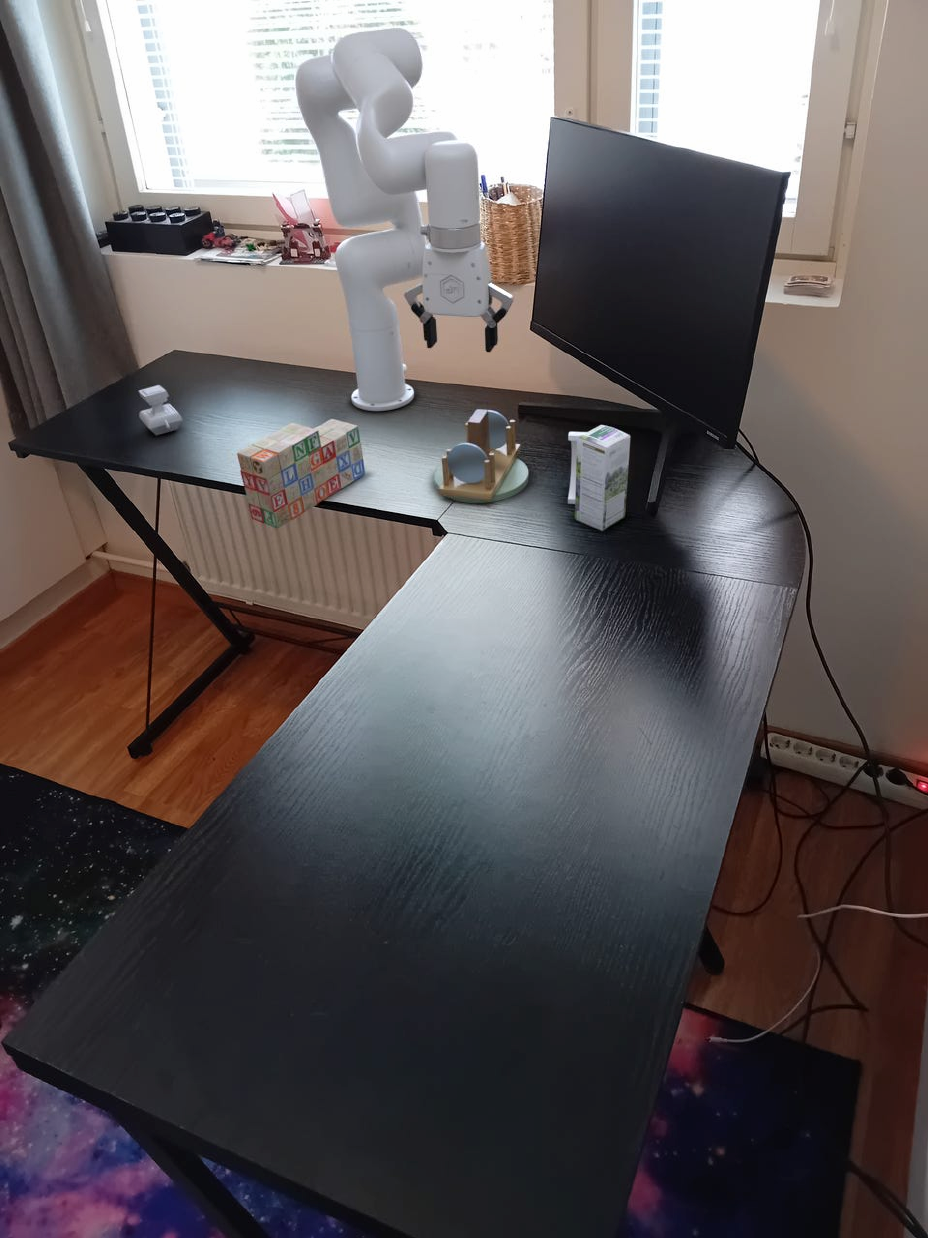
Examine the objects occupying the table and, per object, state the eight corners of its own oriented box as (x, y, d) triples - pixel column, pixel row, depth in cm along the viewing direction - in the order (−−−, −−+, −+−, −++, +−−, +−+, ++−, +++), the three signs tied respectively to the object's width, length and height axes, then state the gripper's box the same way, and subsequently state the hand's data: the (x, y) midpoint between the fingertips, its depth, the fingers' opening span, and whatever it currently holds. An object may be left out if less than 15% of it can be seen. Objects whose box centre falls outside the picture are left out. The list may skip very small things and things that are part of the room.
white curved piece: (567, 503, 152) (568, 435, 145) (571, 485, 157) (572, 418, 149) (596, 505, 151) (598, 436, 144) (599, 486, 156) (601, 419, 149)
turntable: (450, 454, 168) (450, 448, 168) (538, 461, 164) (538, 455, 163) (422, 498, 156) (421, 491, 155) (515, 507, 152) (515, 500, 151)
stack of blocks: (340, 466, 167) (329, 401, 160) (366, 474, 164) (357, 408, 157) (250, 519, 154) (235, 451, 147) (277, 529, 151) (262, 460, 143)
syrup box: (597, 505, 151) (599, 422, 142) (626, 518, 147) (631, 433, 139) (574, 520, 148) (575, 435, 139) (603, 532, 144) (606, 446, 135)
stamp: (187, 433, 182) (177, 392, 177) (154, 442, 180) (142, 401, 175) (173, 417, 188) (162, 377, 183) (140, 427, 186) (129, 386, 181)
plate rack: (491, 500, 151) (488, 442, 145) (438, 494, 154) (433, 437, 148) (520, 450, 165) (519, 395, 159) (471, 445, 167) (468, 391, 161)
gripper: (391, 240, 138) (401, 352, 149) (505, 244, 134) (508, 360, 144) (408, 225, 144) (417, 334, 154) (518, 229, 139) (519, 341, 150)
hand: (461, 347), depth 149 cm, fingers open, 9 cm apart
